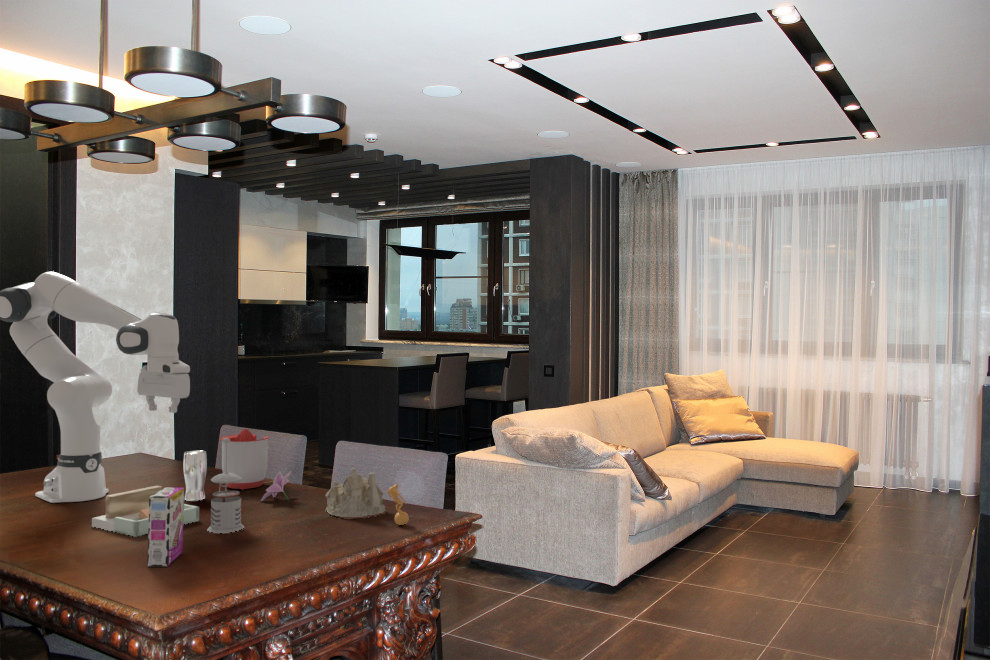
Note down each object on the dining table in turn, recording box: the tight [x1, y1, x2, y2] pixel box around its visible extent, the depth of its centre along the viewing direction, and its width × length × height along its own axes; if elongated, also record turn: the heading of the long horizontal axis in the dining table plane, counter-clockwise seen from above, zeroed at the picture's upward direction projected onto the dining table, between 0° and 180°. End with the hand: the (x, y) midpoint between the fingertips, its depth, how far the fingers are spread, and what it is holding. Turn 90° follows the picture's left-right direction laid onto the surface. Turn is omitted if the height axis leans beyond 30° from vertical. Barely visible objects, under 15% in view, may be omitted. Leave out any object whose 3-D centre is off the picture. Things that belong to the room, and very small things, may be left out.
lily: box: [260, 471, 292, 502], centre depth 245 cm, size 12×12×10 cm
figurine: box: [386, 483, 410, 526], centre depth 217 cm, size 8×6×12 cm
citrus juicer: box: [220, 428, 270, 491], centre depth 266 cm, size 16×17×20 cm
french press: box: [206, 438, 245, 534], centre depth 213 cm, size 10×12×25 cm
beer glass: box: [182, 450, 208, 502], centre depth 246 cm, size 7×7×15 cm
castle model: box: [325, 467, 386, 517], centre depth 232 cm, size 16×16×15 cm
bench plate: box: [91, 512, 142, 533], centre depth 218 cm, size 10×20×2 cm, turn 150°
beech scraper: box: [105, 485, 163, 519], centre depth 219 cm, size 2×16×6 cm, turn 150°
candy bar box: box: [147, 486, 185, 568], centre depth 184 cm, size 11×5×16 cm, turn 5°
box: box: [113, 503, 200, 538], centre depth 213 cm, size 9×20×4 cm, turn 150°
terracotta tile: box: [139, 508, 149, 519], centre depth 214 cm, size 5×5×2 cm
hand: (162, 411), depth 235 cm, fingers open, 8 cm apart
